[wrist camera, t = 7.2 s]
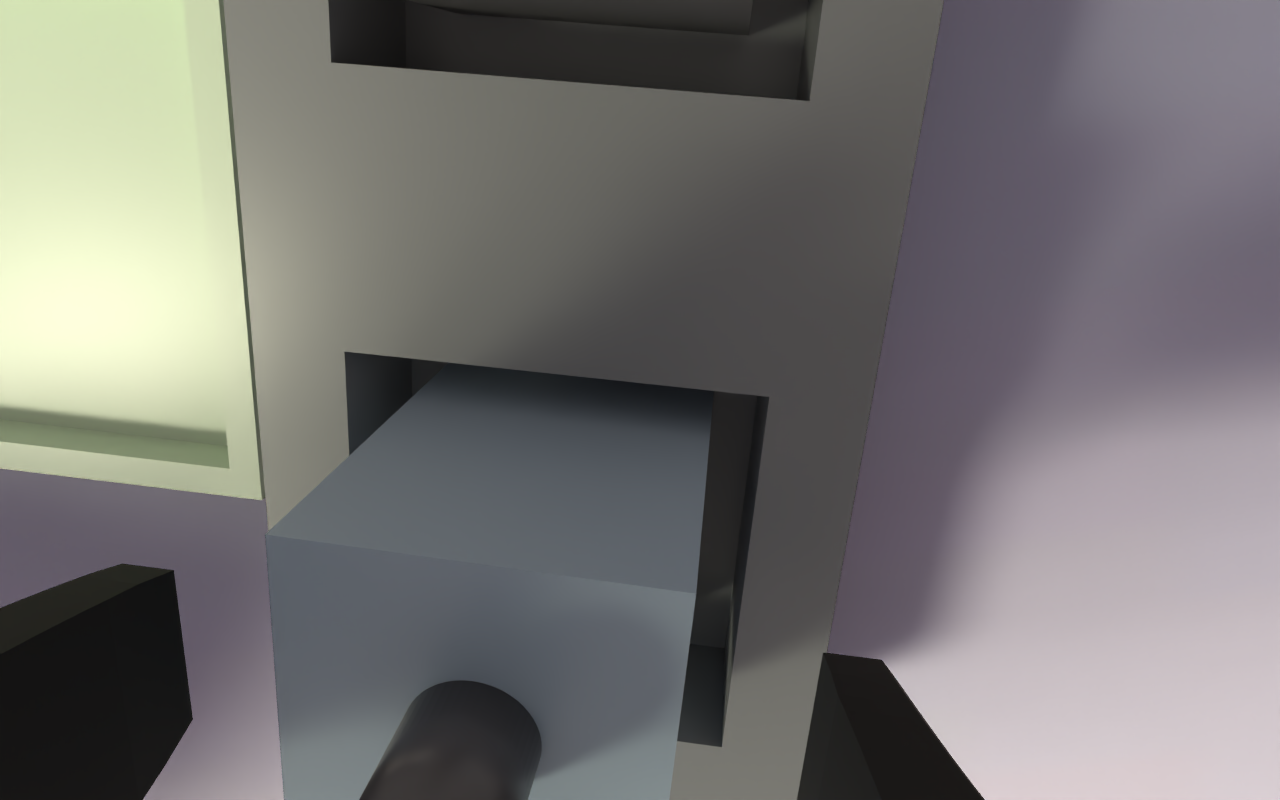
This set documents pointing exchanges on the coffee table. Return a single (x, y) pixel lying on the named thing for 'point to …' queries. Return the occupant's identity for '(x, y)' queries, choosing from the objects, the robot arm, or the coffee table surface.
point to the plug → (494, 594)
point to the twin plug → (617, 12)
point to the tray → (123, 249)
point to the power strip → (599, 273)
